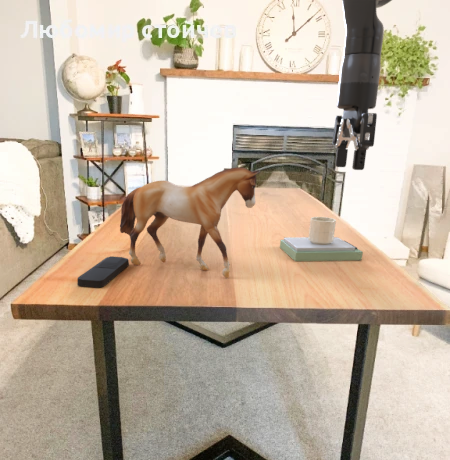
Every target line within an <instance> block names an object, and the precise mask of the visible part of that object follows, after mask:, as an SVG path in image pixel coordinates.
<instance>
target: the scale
mask: <svg viewBox="0 0 450 460" xmlns="http://www.w3.org/2000/svg"><path fill="white" fill-rule="evenodd" d="M308 237H309V236H306V237H305V236H303V237H301V236H299V237H296V236H295V237H292V236H291V237H283V239H280V242H279V248H280V249H281V250H282V251H283V252H284V253H285V254H286V255H287V256H289V257H290V258H291V259H292V260H293V261H294V262H334V261H335V262H337V261H338V262H343V261H344V262H345V261H362V259H363V254H364V252H363V251H362V250H360V249H359V248H358V247H356V246H355V245H354V244H352V243H350V242H348V241H347V240H343V239H342V238H340V237H338V236H334V240H333V242H332V243H331V244H328V245H319V244H314V243H311V242H310V241H309V240H308Z"/></svg>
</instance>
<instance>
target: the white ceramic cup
mask: <svg viewBox="0 0 450 460" xmlns="http://www.w3.org/2000/svg"><path fill="white" fill-rule="evenodd" d="M336 223H337V219H335V218H333V217H329V216H328V217H327V216H312V217H310V220H309V227H308V236H307V237H308V240H309V241H310V242H311V243H314V244H319V245H328V244H331V243H332V242H333V240H334V237H335V231H336Z"/></svg>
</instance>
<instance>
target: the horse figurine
mask: <svg viewBox="0 0 450 460" xmlns="http://www.w3.org/2000/svg"><path fill="white" fill-rule="evenodd" d="M260 173H261V170H260V169H257V170H253V171H251V170H249V169H247V168H245V167H239V166H236V167H231V168H226V169H223V170H221V171H218V172H215V173H214V174H213V175H211V176H209V177H206V178H205V179H203V180H201V181H199V182H197V183H195V184H193V185H191V186H182V185H178V184H175V183H173V182H171V181H169V180H156V181H155V180H154V181H151V182H149V183H147V184H144V185H143V186H140V187H136V188H135V189H133V190H132V191H130V192H129V193H128V194H127V195H126V196H125V198H124V200H123V202H122V204H121V208H120V211H121V212H120V213H121V215H120V224H119V232H120V234H127V235H128V236H129V239H130V244H129V245H130V248H129V251H128V254H129V255H130V257H131V259H130V263H131V264H132V265H134V266H140V265H141V263H142V262H141V261H140V259H139V258H138V256H137V254H136V242H137V241H138V238H139V236H140V234H141V233H142V232H143V231H144V230H145V228H146V232H147V233H148V234H149V236H150V237H151V238H152V240H153V242H154V244H155V245H156V248H157V251H158V252H160V253H159V256H158V259H159V260H160V261H161V262H162V263H164V264H165V263H166V261H167V254H166V250H165V247H164V246H163V244H162V243H161V241H160V239H159V237H158V234H157V232H158V230H159V228H160V227H162V226H163V225H164V224H166V223H167V220H168V219H172V220H175V221H178V222H183V223H189V224H194V225H199V226H200V231H199V235H198V238H197V252H196V256H195V260H196V261H197V262H198V263H199V268H200V270H201V271H205V272H206V271H209V270H210V268H209V266H208V265H207V263H205V261H204V260H203V258H202V252H203V248H204V246H205V242H206V238H207V237H208V235H209V237H210V238H211V239H212V240H213V242H214V243H215V245H216V246H217V247H218V249H219V251H220V253H221V255H222V260H223V266H224V268H223V269H222V273H221V274H222V276H223V277H224V278H225V279H229V278H230V265H231V264H230V260H229V257H228V251H227V246H226V244H225V243H224V241H223V240H222V236H221V233H220V230H219V228H218V225H219V222H220V220H221V215H222V210H223V208H224V207H225V206H226V204H227V202H228V200H229V199H230V198H231V197H232V195H233V194H234V193H235V192H236V191H237V193H239V195H240V196H241V197H242V199H243V201H244V202H245V203H244V204H245V207H246V208H248V209H252V208H253V207H254V206H255V205H256V185H257V175H259V174H260ZM152 217H154V219H153V220H152V222H151V223H149V225H148V226H147V223H148V221H149V220H150V219H151V218H152ZM135 222H136V223H135ZM146 226H147V227H146Z"/></svg>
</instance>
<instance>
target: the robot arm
mask: <svg viewBox="0 0 450 460" xmlns="http://www.w3.org/2000/svg"><path fill="white" fill-rule="evenodd" d="M341 1H342V11H343V21H344V28H345V35H344V44H343V45H344V47H343V56H342V61H341V64H340V65H341V66H340V71H339V81H338V91H337V99H336V108H337V109H339V110H343V112H342V115H335V119H334V127H333V133H332V145H333V146H335V149H336V154H335V164H334V165H335V167H336V168H345V167H346V166H347V161H348V152H349V149H348V148H349V146H350V143H351V142H352V143H353V147H354V151H353V158H352V166H351V167H352V170H355V171H363V170H364V169H365V163H366V157H367V156H366V155H367V151H368V150H369V148H372V147H373V146H374V145H375V138H376V137H375V136H376V128H377V119H378V114H377V113H376V112H369V110H374V109H375V108H376V106H377V98H378V92H379V85H380V84H379V83H380V77H381V66H382V65H381V64H382V63H381V60H382V57H381V56H382V50H383V44H384V43H383V42H384V35H385V34H384V33H385V27H384V23H382V21H381V20H380V18H379V17H378V13H377V9H380V8H382V7H384V6H386V5H388V4H389V3H391V1H393V0H341Z"/></svg>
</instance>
